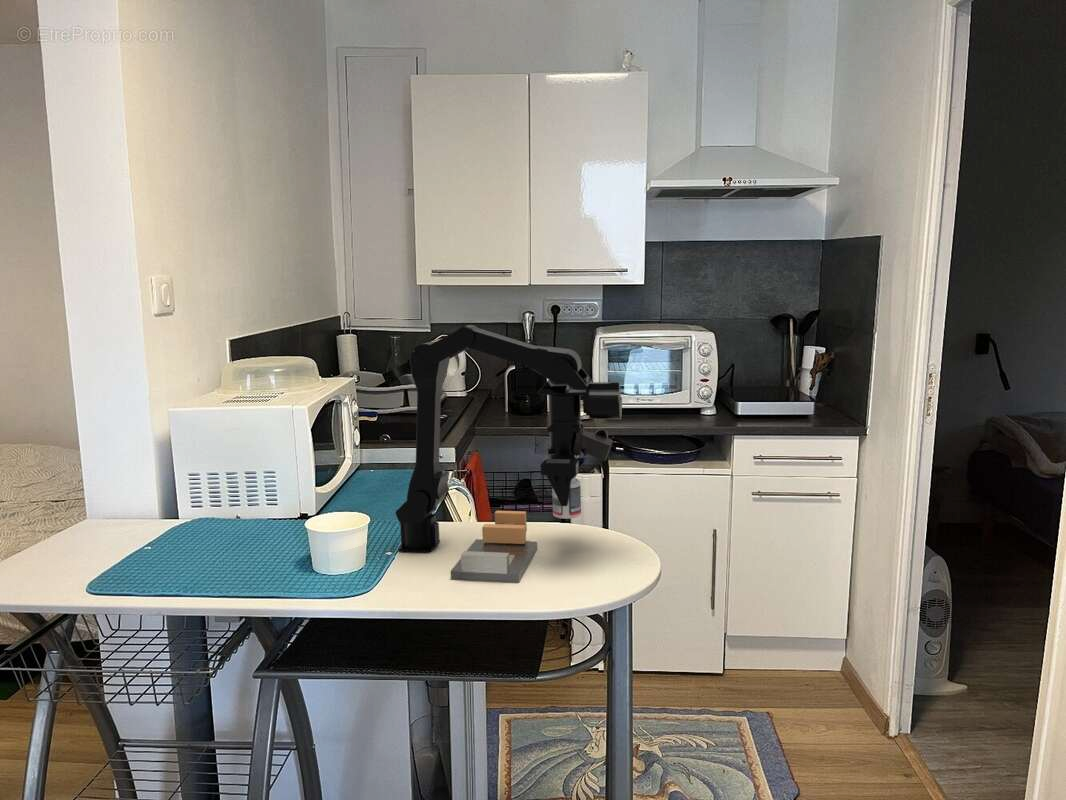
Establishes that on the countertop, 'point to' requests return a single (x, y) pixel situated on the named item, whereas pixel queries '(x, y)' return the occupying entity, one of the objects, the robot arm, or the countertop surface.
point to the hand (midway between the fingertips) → (566, 501)
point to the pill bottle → (573, 503)
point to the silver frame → (494, 561)
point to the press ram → (506, 528)
